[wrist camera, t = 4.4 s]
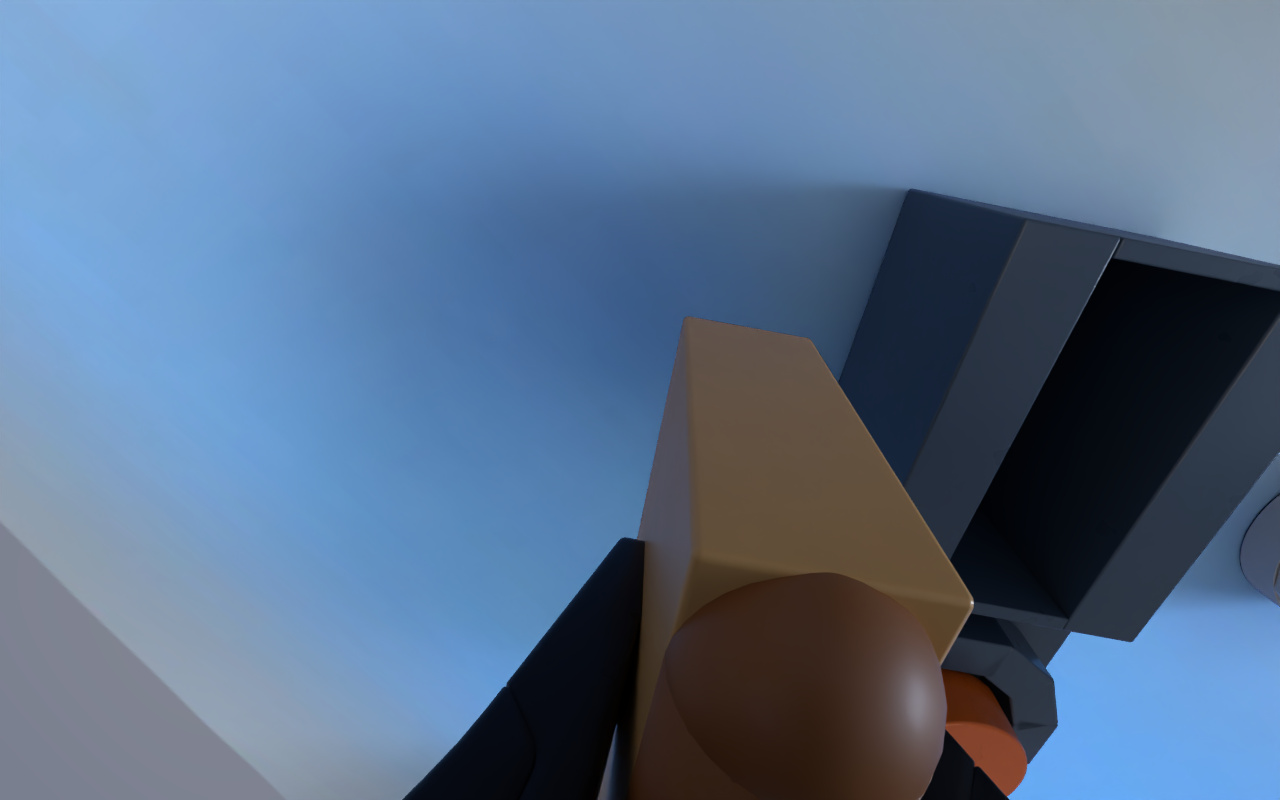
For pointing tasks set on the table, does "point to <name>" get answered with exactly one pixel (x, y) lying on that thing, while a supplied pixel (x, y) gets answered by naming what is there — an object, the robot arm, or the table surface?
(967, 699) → the button
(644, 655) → the tan slab
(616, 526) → the table surface
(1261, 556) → the cup
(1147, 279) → the toaster
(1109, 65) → the table surface
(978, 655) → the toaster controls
